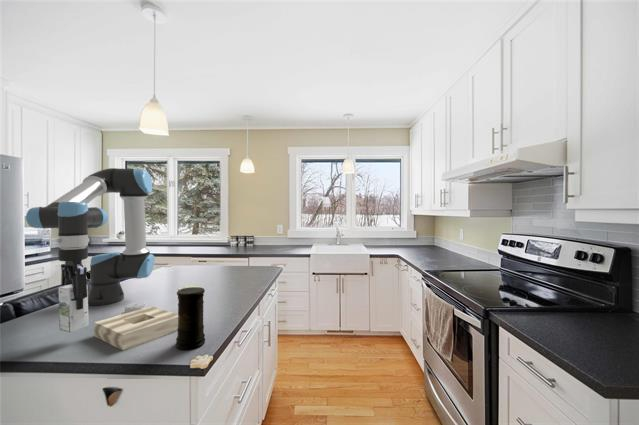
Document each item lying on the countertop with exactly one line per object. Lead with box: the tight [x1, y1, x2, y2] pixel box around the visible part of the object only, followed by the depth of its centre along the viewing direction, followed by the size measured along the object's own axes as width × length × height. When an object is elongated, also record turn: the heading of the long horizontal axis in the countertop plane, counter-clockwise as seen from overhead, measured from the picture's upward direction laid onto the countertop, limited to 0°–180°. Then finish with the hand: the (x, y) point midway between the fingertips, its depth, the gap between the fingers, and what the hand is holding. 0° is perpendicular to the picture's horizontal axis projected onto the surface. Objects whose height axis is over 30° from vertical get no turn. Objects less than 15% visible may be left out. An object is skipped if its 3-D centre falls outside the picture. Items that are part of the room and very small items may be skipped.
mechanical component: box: [120, 302, 147, 315], centre depth 123 cm, size 10×4×10 cm
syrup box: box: [58, 284, 89, 333], centre depth 97 cm, size 6×6×14 cm
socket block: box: [93, 306, 178, 351], centre depth 105 cm, size 20×20×5 cm
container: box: [175, 287, 206, 351], centre depth 96 cm, size 9×9×18 cm
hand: (73, 316), depth 97 cm, fingers closed on syrup box, 6 cm apart
